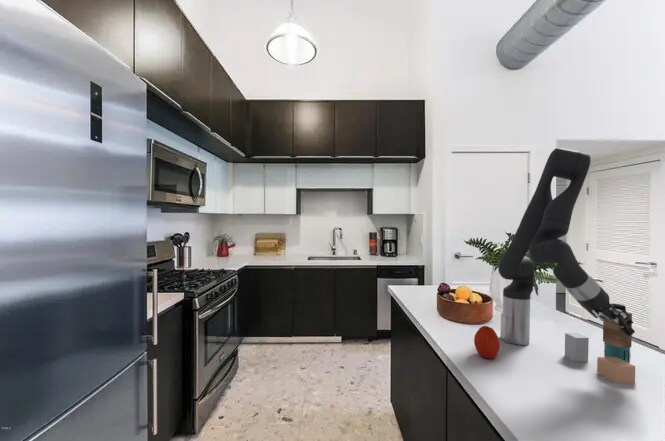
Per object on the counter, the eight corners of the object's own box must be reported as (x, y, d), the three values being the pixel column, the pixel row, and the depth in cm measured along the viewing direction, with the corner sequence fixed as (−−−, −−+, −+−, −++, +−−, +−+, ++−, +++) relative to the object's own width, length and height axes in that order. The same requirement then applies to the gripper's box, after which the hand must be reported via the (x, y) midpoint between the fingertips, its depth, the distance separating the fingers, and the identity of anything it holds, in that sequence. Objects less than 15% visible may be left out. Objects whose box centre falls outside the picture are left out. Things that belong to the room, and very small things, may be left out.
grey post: (575, 361, 104) (575, 337, 104) (564, 355, 109) (565, 332, 109) (588, 361, 105) (588, 337, 105) (576, 355, 109) (577, 332, 109)
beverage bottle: (625, 371, 98) (626, 308, 98) (599, 362, 104) (600, 303, 104) (634, 367, 101) (635, 305, 101) (608, 358, 107) (609, 300, 107)
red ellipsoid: (469, 350, 112) (470, 321, 112) (492, 351, 111) (493, 321, 111) (479, 361, 103) (480, 329, 103) (504, 362, 103) (505, 329, 103)
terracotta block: (615, 383, 91) (615, 366, 91) (597, 373, 97) (597, 357, 97) (634, 383, 91) (635, 366, 91) (615, 372, 97) (615, 357, 97)
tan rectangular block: (616, 347, 92) (617, 313, 92) (602, 341, 96) (603, 309, 96) (631, 347, 92) (632, 313, 92) (616, 341, 96) (617, 309, 96)
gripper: (617, 287, 87) (657, 330, 87) (574, 277, 101) (609, 314, 101) (598, 305, 86) (639, 349, 87) (558, 293, 101) (593, 331, 101)
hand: (622, 330), depth 94 cm, fingers closed on tan rectangular block, 4 cm apart
